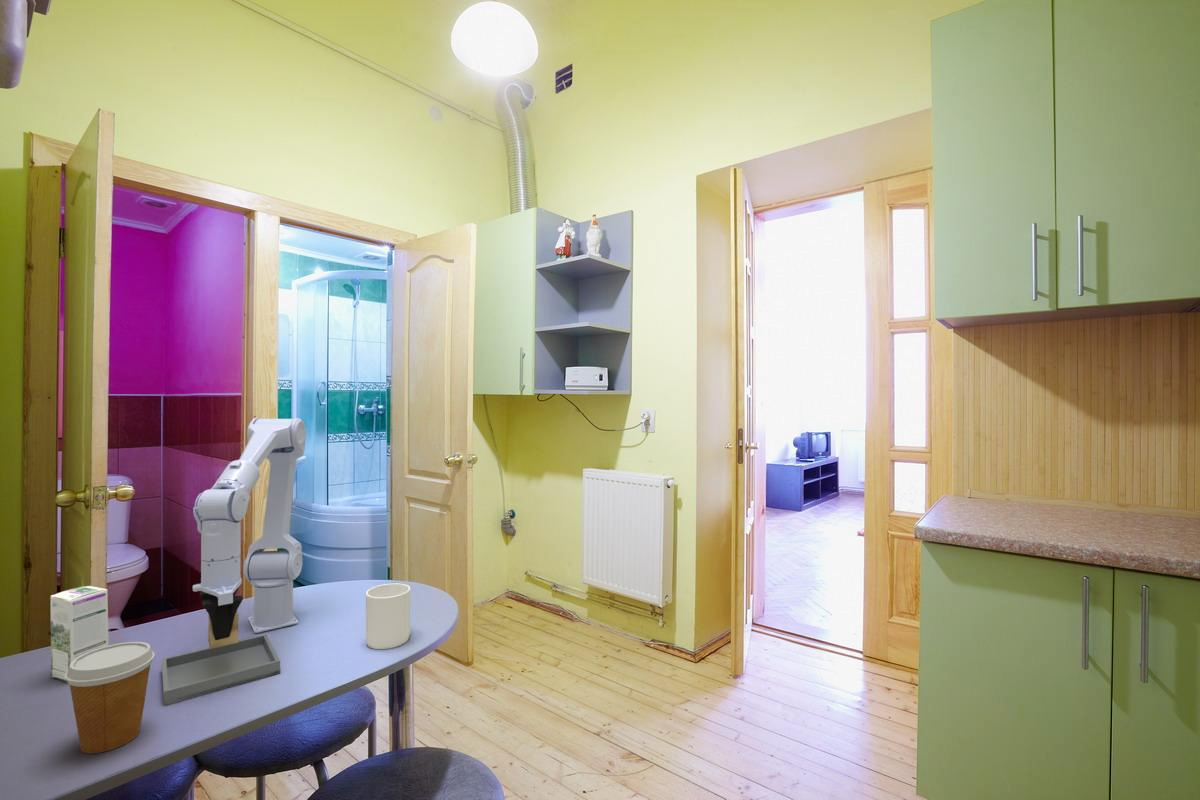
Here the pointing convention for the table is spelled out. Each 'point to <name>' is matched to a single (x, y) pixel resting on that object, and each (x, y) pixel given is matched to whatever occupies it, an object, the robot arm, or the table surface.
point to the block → (225, 641)
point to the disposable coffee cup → (109, 694)
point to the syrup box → (77, 625)
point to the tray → (217, 668)
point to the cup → (387, 615)
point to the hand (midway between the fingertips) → (220, 633)
